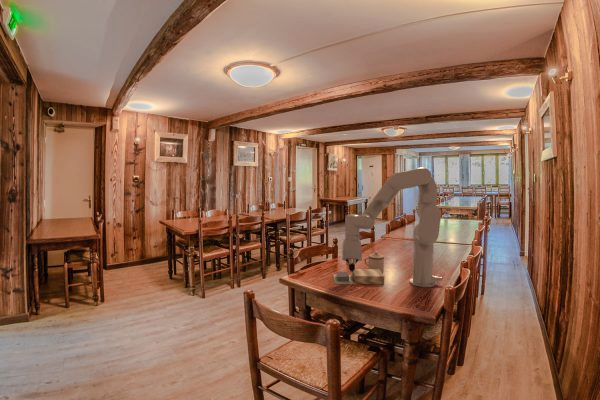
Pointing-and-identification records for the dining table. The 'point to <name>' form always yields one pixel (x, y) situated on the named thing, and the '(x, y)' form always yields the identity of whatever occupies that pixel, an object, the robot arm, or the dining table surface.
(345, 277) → the coaster
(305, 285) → the dining table surface
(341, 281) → the placemat
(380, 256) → the teacup with lid
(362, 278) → the board
